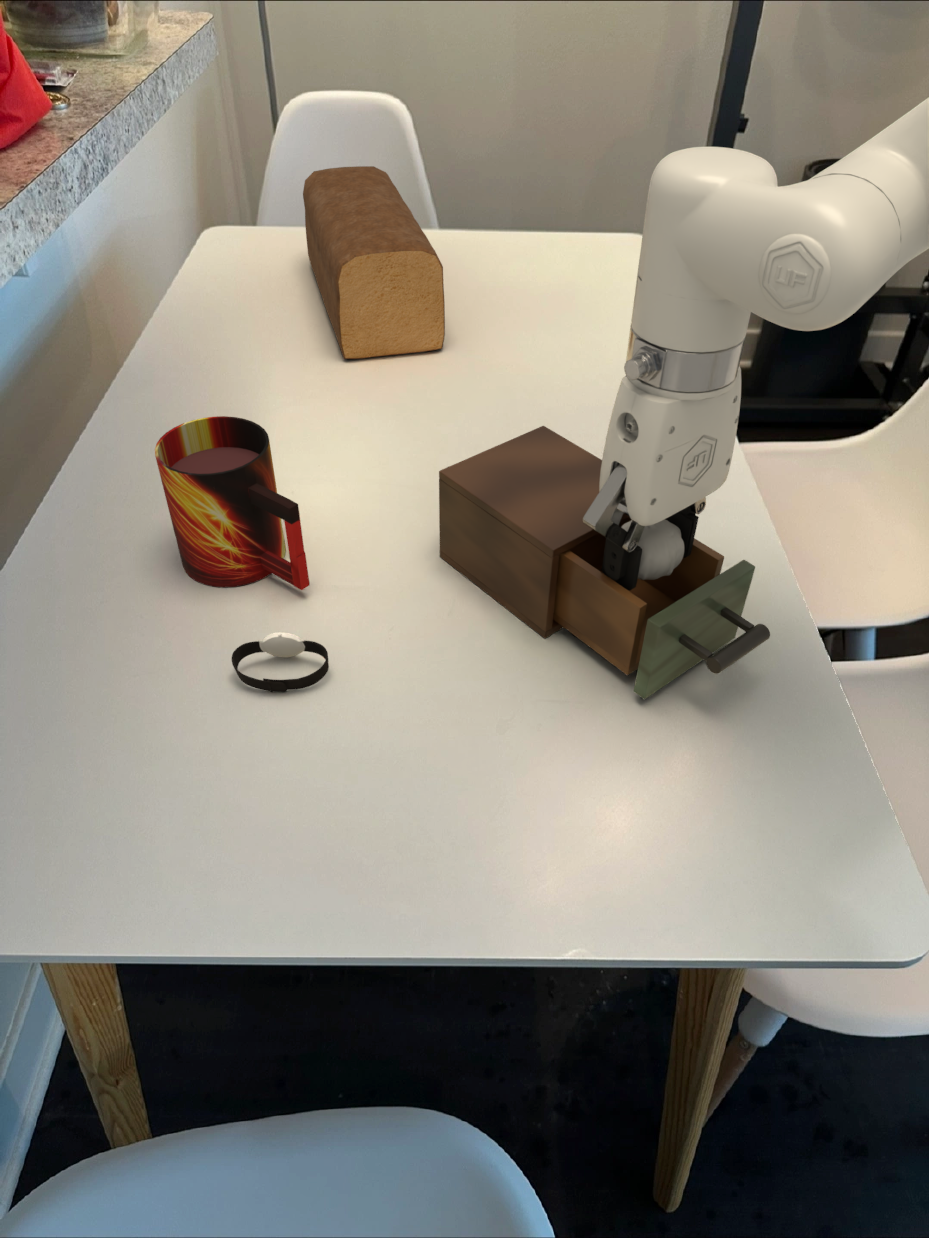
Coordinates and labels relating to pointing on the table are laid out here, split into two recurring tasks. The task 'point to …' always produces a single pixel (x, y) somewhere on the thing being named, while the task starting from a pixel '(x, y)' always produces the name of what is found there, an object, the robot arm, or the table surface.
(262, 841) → the table surface
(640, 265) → the robot arm
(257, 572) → the mug
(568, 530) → the cabinet
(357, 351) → the bread
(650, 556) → the garlic
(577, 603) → the drawer
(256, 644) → the watch
